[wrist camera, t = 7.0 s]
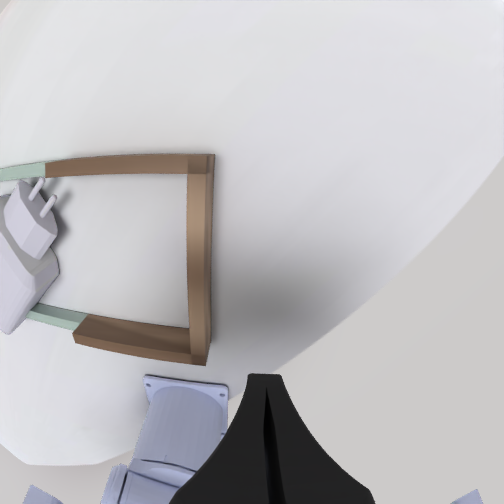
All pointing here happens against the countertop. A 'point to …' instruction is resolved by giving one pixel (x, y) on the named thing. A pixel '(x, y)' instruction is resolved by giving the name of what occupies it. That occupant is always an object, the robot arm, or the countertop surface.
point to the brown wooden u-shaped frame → (198, 261)
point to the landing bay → (39, 311)
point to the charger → (25, 252)
